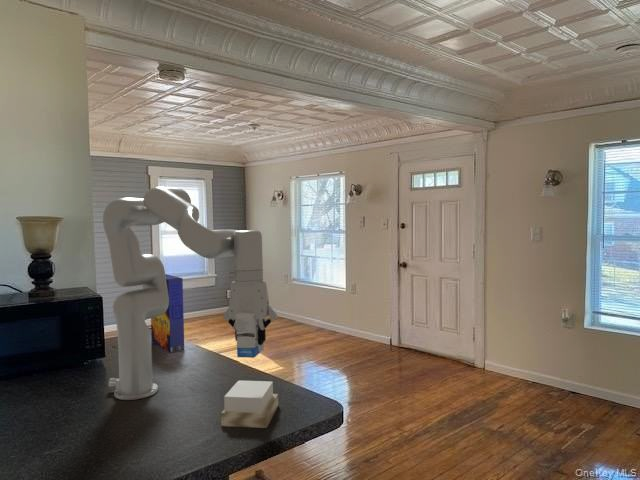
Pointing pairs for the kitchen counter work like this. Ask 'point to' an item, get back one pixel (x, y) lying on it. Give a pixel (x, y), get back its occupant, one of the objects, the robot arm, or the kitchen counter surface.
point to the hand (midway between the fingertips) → (250, 342)
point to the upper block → (248, 396)
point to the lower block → (251, 416)
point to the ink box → (247, 335)
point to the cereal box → (170, 319)
